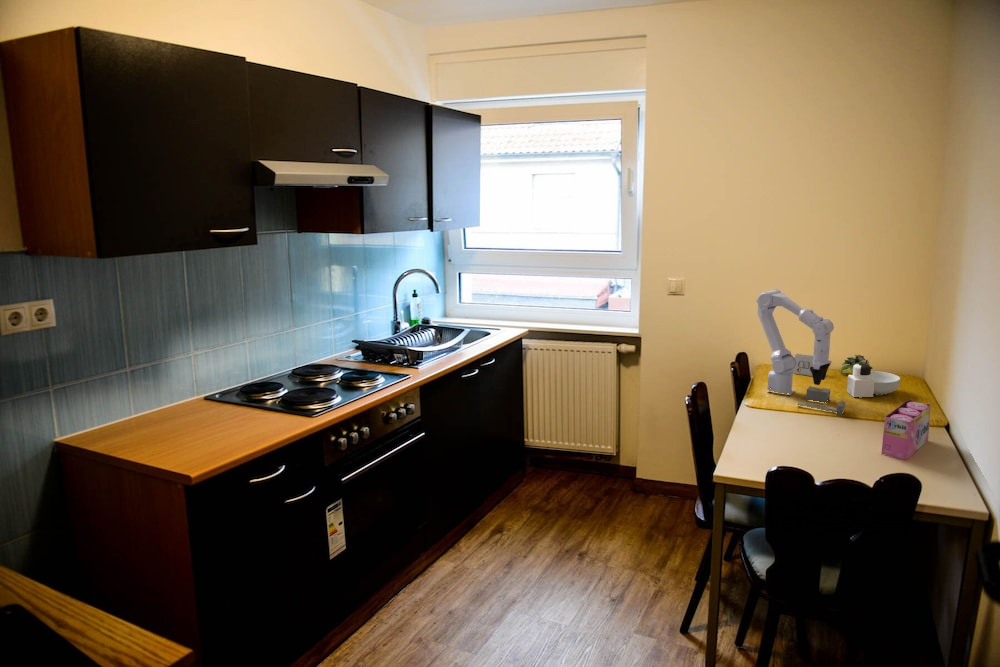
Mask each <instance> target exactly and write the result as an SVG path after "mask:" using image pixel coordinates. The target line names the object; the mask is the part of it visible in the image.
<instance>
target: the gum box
mask: <svg viewBox="0 0 1000 667" xmlns="http://www.w3.org/2000/svg"><path fill="white" fill-rule="evenodd" d="M931 407H932V404H931V403H927V404H924V403H922V402H915V401H913V400H912V399H908V400H905V401H904V402H902V403H901V404H899V406H898V407H896V408H895V409H893V411H891V412H890V413H888V414H886V415H885V417H884V426H883V435H882V444H881V455H883V454H885V455H884V456H887V457H891V458H896V459H899V460H904V461H906V460H908V459H909V458H910V457H911V456H912V455H913V454H915V453H916V452H917V450H920V448H921V447H922V446H924V445H925V444H926V443H927V442H928V441H929V433H930V432H929V431H930V422H931V421H930V418H931Z"/></svg>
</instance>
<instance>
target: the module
mask: <svg viewBox="0 0 1000 667" xmlns="http://www.w3.org/2000/svg"><path fill="white" fill-rule="evenodd" d="M806 400H813V401H819V402H824V403H825V402H826V403H827V404H828V401H827V400H831V388H823V387H820V386H819V387H818V386H810V385H809V386H808V388H807V389H806V394H805V401H806Z"/></svg>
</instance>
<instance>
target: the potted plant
mask: <svg viewBox="0 0 1000 667" xmlns="http://www.w3.org/2000/svg"><path fill="white" fill-rule="evenodd" d="M856 364H867V365H869V366H870V367H871V370H873V369H874V368H873V366H871V365H870V361H869V359H866V358H865V356H864V355H861V354H854V356H850V357H849V356H846V359H844V362H843V363H841V367H840V369H839V370H838V372H839V373H840V374H843V372H847V371H850V373H851V375H853V366H854V365H856Z"/></svg>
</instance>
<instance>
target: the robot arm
mask: <svg viewBox="0 0 1000 667" xmlns="http://www.w3.org/2000/svg"><path fill="white" fill-rule="evenodd" d="M755 301H756V303H757V315H758V318H759V321H760V323H761V325H762V329H763V332H764V333H765V336H766V339H767V341H768V342H767V343H768V344H769V348H770V349H771V352H772V354H771V356H770V360H771V368H772V370H770V371H769V372H768V376H767V389H766V390H769V391H774V392H778V393H784V394H787V393H789V394H791V395H792V394H794V392H795V389H793V376H794V373H793V369H794V368H795V367H796V364H797V362H796V359H795V356H794V355H793V354H792V352H791V351H790V350H789V349H787V347H786V345H785V343H784V340H783V338H782V335H781V333H780V330H779V327H778V325H777V322H776V320H775V318H774V315H773V313H774V310H775V309H776V308H777V307H782V308H784V309H786V310H788V311H789V312H791V313H792V314H794V315H796V316H797V317H798V320H799V321H800V322H801V323H803V324H804V325H806V326H807V327H808V328H810V329H811V330H812V332H813V334H814V343H813V344H814V345H813V355H812V356H813V364H814V367H810V371H811V373H812V376H811V377H812V381H813V384H814V386H815V385H816V386H817V385H818V386H820V385H821V383H822V381H825V379H826V376H827V372H828V370H829V368H830V366H831V364H832V363H833V362H832V360H830V359H829V358H830V347H831V333H832V332H833V331H834V328H835V327H834V324H833V322H832V321H831V320H830V319H828V318H824V317H822V316H819V315H818V314H817V313H815V312H814V310H813V309H811V308H810V309H809V308H805V309H804V308H802V307H801V306H800V305H799V304H797V303H796V302H794V301H793V300H792V299H791V298H789V297H788V296H787V295H786V293H784V292H782V291H781V290H779V289H772V290H769V291H768V290H767V291H762V292H760V293H759V295H758V297H757V298H756V300H755ZM770 388H771V389H770Z"/></svg>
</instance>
